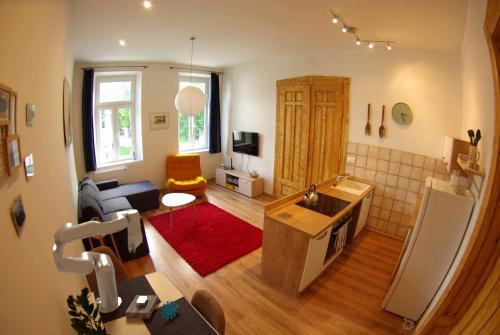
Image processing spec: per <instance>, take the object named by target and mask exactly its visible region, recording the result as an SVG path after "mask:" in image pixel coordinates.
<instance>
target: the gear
mask: <svg viewBox="0 0 500 335" xmlns="http://www.w3.org/2000/svg"><path fill="white" fill-rule="evenodd" d="M175 305H176V302H173V301H172V300H171V301H166V303H163V304H162V307H161V309H160V310H162V311H160V312H161V314H160V315H162V318H163V319H164V318H165V320H169V319H170V320H172V319H173V317H176V316H177V315H176V314H177V313H178V308H179V306H180V305H179V304H177V305H176V306H175ZM163 314H164V315H163Z"/></svg>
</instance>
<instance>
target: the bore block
mask: <svg viewBox="0 0 500 335" xmlns="http://www.w3.org/2000/svg"><path fill="white" fill-rule="evenodd" d="M139 297H147V305H146V307H145V308H140V307H137V301H138V299H139ZM158 302H159V295H149V294H148V295H146V294H144V295H143V294H136V295H135V297H134V298H133V300H132V302H131V303H130V305H129V306H128V308H127V309H126V311H125V317H126V319H150V318H151V316H152V313H154V310H155V309H156V307H157V305H158Z"/></svg>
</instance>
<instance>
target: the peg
mask: <svg viewBox="0 0 500 335" xmlns="http://www.w3.org/2000/svg"><path fill="white" fill-rule="evenodd" d="M146 305H147V297H139V299H138V301H137V307H140V308H145V307H146Z"/></svg>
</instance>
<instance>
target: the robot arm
mask: <svg viewBox="0 0 500 335" xmlns="http://www.w3.org/2000/svg"><path fill="white" fill-rule="evenodd" d="M140 218H141V217H140V212H139V210H137V209H130V210H126V211H117V212H115V213H113V214H112V216H111V220H110V221H106V222H99V221H95V220H89V221H86V222H82V223H79V224H75V223H73V222H66V223H64V224H62V225H60V227H59V228H58V229H57V230H56V232H54V234H53V235H54V239H55V242H54V246H53V257H54V261H55V264H56V267H57V269H58V271H59V272H58V273H65V274H73V275H74V274H75V275H83V276H85V275H90V274H91V273H92V272H93V271H95V276H96V277H95V278H96V282H97V288H98V292H99V297H97V298H96V300H95V305H99V306H98V311H99V312H100V313H102V314H103V313H104V314H106V313H107V314H108V313H111V312H114V311H115V310H117V309H119V307H120V306H121V305H122V299H121V297H119V296H118V289H117V282H116V275H115V267H114V263H113V261H112V258H111V257H110V255H109V254H106V253H100V252H95V251H94V252H93V251H82V252H79V253H78V254H77V255H76V256H75V257H74V256H64V247H65V245H67V244H70V243H73V242H74V243H75V242H77V241H79V240H84V239H86V238H89V237H92V236H102V235H103V236H105V235H110V234H113V233H118V232H120V231H123V230H124V229H126V228H127V247H128V251H129V253H130V258H132V259H136V258H137V252H136V249H138V250H143V249H144V244H143V243H144V241H143V240H144V238H143V237H144V235H143V234H142V228H141V219H140Z"/></svg>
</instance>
